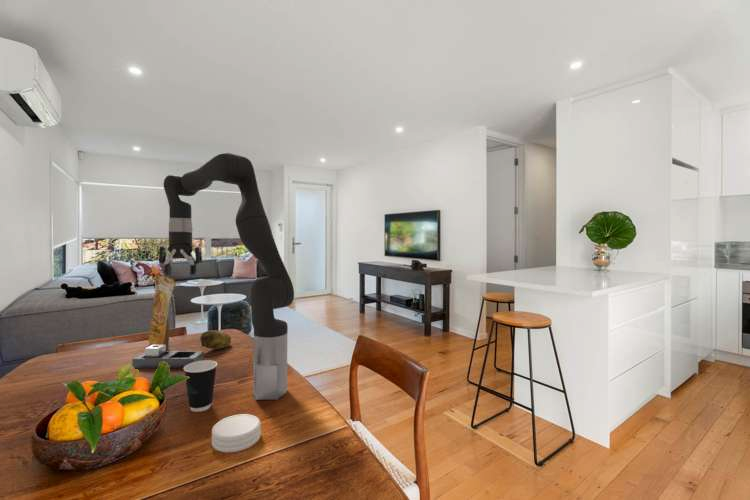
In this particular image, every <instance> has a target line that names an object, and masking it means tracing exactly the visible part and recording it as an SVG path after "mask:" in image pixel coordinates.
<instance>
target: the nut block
mask: <svg viewBox="0 0 750 500" xmlns="http://www.w3.org/2000/svg"><path fill="white" fill-rule="evenodd" d="M166 351H167V349H166V345H149V346H148V347H145V348H144V352H145V358H161V357H163V356H165V355H166Z"/></svg>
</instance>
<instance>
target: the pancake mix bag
mask: <svg viewBox="0 0 750 500" xmlns="http://www.w3.org/2000/svg"><path fill="white" fill-rule="evenodd" d="M176 282H177V281H176V280H175V279H174V278H171V277H167V276H164V275H158V274H156V275H155V276H154V296H153V297H154V298H153V305H152V311H151V318H150V319H151V320H150V329H149V335H148V342H149V346H151V345H166V350H168V349H169V347H170V346H169V343H170V325H169V324H170V323H169V310H170V305H171V300H172V296H173V293H174V290H175V288H176V285H177V284H176Z"/></svg>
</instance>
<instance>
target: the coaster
mask: <svg viewBox="0 0 750 500" xmlns="http://www.w3.org/2000/svg"><path fill="white" fill-rule="evenodd" d="M261 425H262V424H261V420H260V418H259V417H257V416H255V415H254V414H250V413H240V414H234V415H231V416H227V417H225V418H222V419H219V421H218V422H217V423H215V424H214V425H213V427H212V429H211V446H212V448H213V449H214V450H216V451H218V452H221V453H236V452H240V451H243V450H246V449H248V448H251V447H253V446H254V445H256V443H257V442H258V441H259V440H260V438H261V435H262V434H261V430H262V427H261Z"/></svg>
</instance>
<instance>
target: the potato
mask: <svg viewBox="0 0 750 500" xmlns="http://www.w3.org/2000/svg"><path fill="white" fill-rule="evenodd" d="M231 342H232V337H231V336H230V335H229V334H227V333H223V332H219V331H218V330H213V329H211V330H206V331H204V332H203V333H201V335H200V343H201V347H205V348H207V349H214V350H222V349H221V348H224V347H226V348H228V347H229V346H230V345H231ZM224 349H225V348H224Z"/></svg>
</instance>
